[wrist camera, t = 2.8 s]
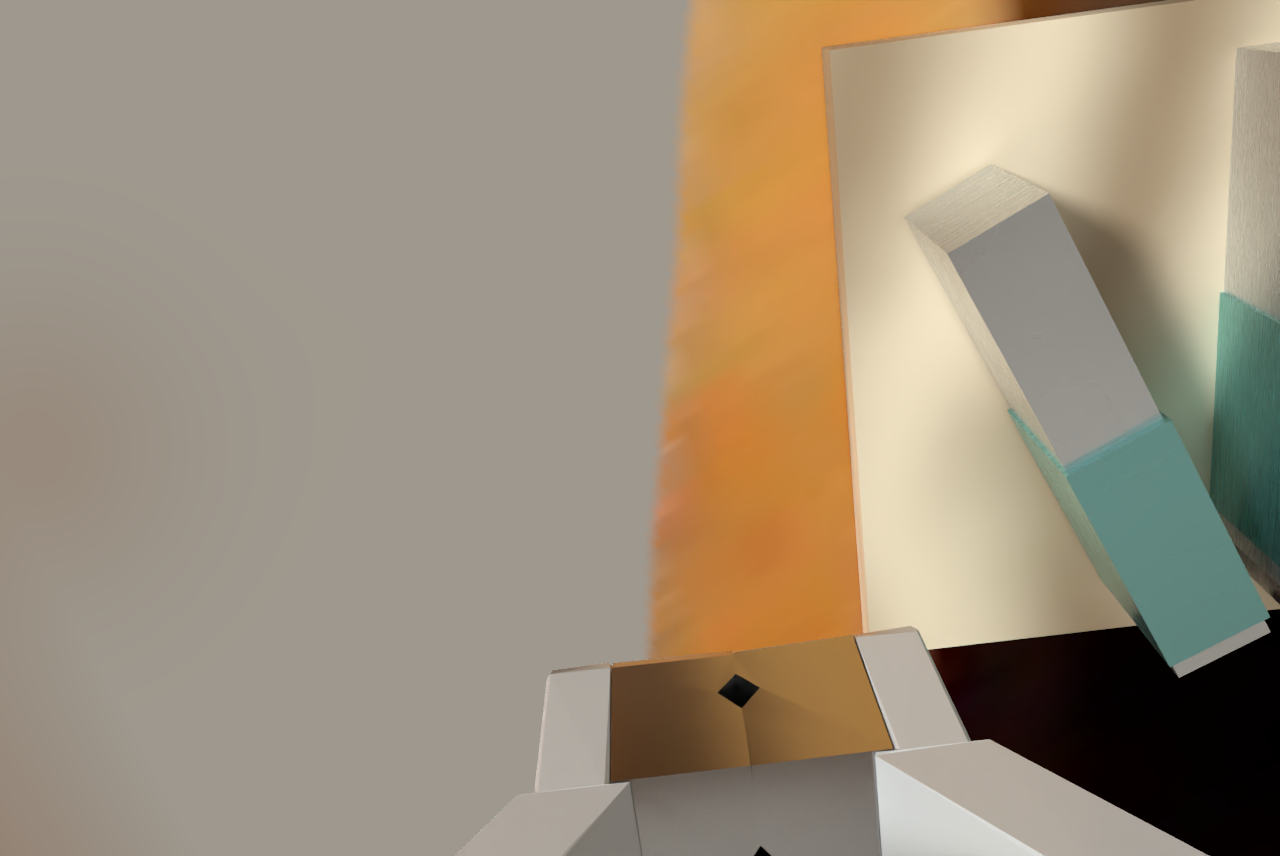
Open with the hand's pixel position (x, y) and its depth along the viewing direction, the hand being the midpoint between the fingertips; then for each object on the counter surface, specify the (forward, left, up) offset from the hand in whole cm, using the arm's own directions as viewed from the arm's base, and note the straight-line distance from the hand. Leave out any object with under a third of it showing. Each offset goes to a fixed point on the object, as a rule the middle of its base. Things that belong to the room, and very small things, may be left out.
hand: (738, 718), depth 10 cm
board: (-9, +3, -17) cm, 20 cm away
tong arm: (-8, +4, -16) cm, 18 cm away
